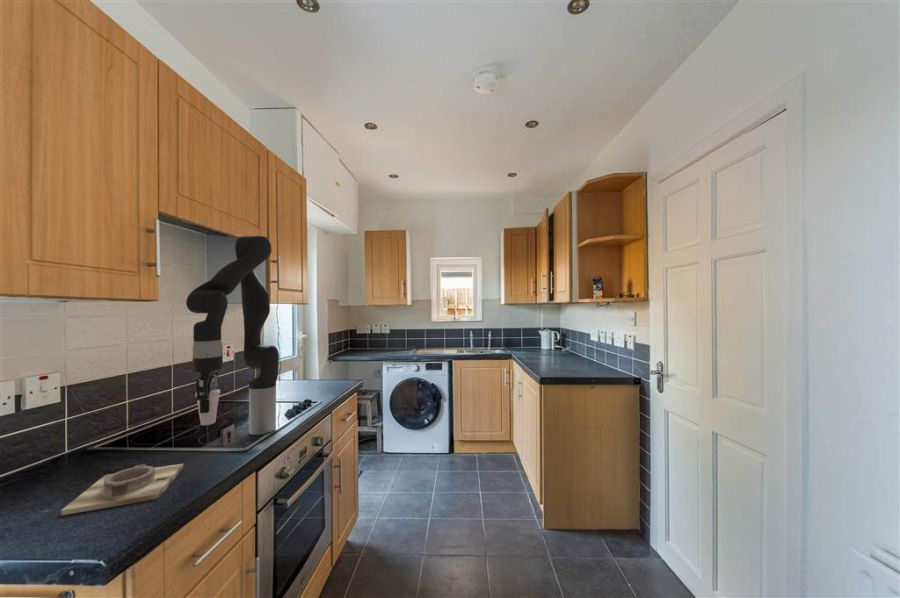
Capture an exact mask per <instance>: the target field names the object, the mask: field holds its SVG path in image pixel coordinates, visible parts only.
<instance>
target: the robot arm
mask: <svg viewBox="0 0 900 598" xmlns="http://www.w3.org/2000/svg"><path fill="white" fill-rule="evenodd" d="M272 248H273V246H272V242H271V241H270V240H269V238H268V237H266V236H265V235H242V236H239V237H237V239H236V240H235V243H234V251H235V256H236V257H235V258H236V259H235V260H234V261H231V262H230V263H228V264H226V265H224V266H222V267H221V268H220V269H219V270H218V271H217V272H216V273H215V274H214V275H213V277H212V278H211V279H210V280H209V279H208V280H207V281H206V282H203V284H200V285H199V286H198V287H196V288H194V289H193V290H192V291H191V292H190V293H189V294H188V296H187V298H186V301H185V303H186V304H185V305H186V307H187V309H188V310H189V311H190V312H192V313H194V314H207V315H206V317H205V319H204V320H202V321H198V322H195V323H194V325H193V339H192V340H193V342H192V343H193V344H192V372H193V373H196V374H197V373H199V374H200V377H199V378H198V380H197V379H196V380H195V386H196V388H195V389H196V393H197V397H196V401H197V400H199V401H200V413H208V412H209V399H210V393H211V392H212V390H213V389H219V371H220V370H222V369H223V343H222V325H223V323H224V320H225V316H226V312H227V309H228V304H229V302H228V301H229V300H228V298H227V296H229V295H230V294H231V293H233V291H234V290H236V288H237V287H238V285H240V288H241V289H240V292H241V304H242V305H241V308H242V314H243V315H242V316H243V331H244V338H243V359H244V360H243V361H244V363H245V366H246V367H247V368H249V369H253V370H254V369H255V370H260V371H259V375H258V376H256V377H254V378H251V379H250V380H249V383H248V434H249V435H251V436H262V434H263V435H266V434H265V433H267V434H269V433H268V432H270V433H272V432H271V431H273V430H275V429H276V430H277V380H278V377H279V366H280V365H279V364H280V355H279V350H278V348H277V347H276V346H275V345H271V344H262V343H261V342H262V341H261V335H262V334H261V333H262V329H263V327H264V325H265V323H266V322H267V319H268V317H269V315H270V311H271V306H270V305H271V304H270V303H271V302H270V295H269V292H268V290H267V288H266V287H265V286H264V284H263V283H262V282H261V280H260V279H259V277H258V276H257V274H256V272H255V270H256V268H257V267H259V266H260V265H261V264H262V263H264V262H265V261H266V260H267V259H269V257H270V256H271V254H272V250H273V249H272ZM203 393H205V395H204V396H202V394H203ZM276 430H275V431H276ZM273 432H274V431H273Z"/></svg>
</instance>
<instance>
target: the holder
mask: <svg viewBox="0 0 900 598" xmlns="http://www.w3.org/2000/svg"><path fill="white" fill-rule="evenodd" d="M183 469H184V463H179V464H171V465H164V466H157V467H154V466H152V465H147V463H143V464H138V465H137V464H136V465H134V466H133V467H131V468H129V467H128V468H126V469H123V470H120V471H117V472H115V473H111V474H110V473H109V474H104V475H103V476H102V477H101V478H100V479H98V480H97V481H96V482H95V483H93V484H92V485H91V486H90V487H88V488H87V489H86V490H85V491H83V492H82V493H81V494H79V495H78V496H77V497H75V498H74V499H73V500H72V501H70V503H68V504H67V505H66V506H65V507H63V508H62V509H61V510H60V516H67V515H72V514H77V513H78V514H79V513H83V512H90V511H95V510H102V509H107V508H111V507H118V506H125V505H129V504H135V503H141V502H149V501H154V500H158V499H159V498H160V497H161V496H162V495H163V493H164V492H165V491H166V489H167V488H168V487H169V486H170V484H171V483H172V482H173V481H174V480H175V478H176V477H177V476H178V475H179V473H181V471H182V470H183Z"/></svg>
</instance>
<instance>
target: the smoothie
mask: <svg viewBox="0 0 900 598" xmlns="http://www.w3.org/2000/svg"><path fill="white" fill-rule="evenodd" d="M204 395H205V393H203V394H202V396H204ZM220 395H221V390H220V389H219V388H218V389H213V390H212V392H211V393H210V399H209V412H208V413H200V401H199V400H197V399H196V401H197V402H196V403H197V408H198V416H199V421H200V426H209V425H214V424H215V423H216V420H217V415H218V406H219V399H220ZM194 397H195V398H197V392H195V395H194Z"/></svg>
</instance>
